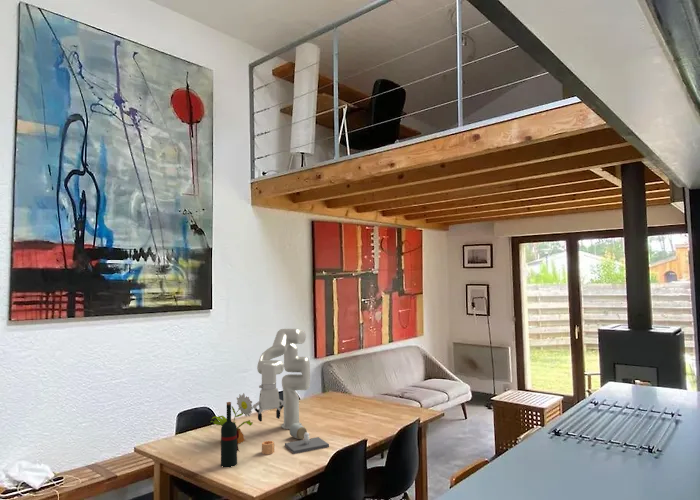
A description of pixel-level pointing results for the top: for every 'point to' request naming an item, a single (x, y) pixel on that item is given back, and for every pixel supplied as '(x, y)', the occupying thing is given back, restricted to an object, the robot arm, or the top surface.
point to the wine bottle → (229, 441)
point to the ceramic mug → (297, 431)
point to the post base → (306, 444)
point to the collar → (268, 447)
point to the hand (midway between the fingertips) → (269, 419)
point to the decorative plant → (245, 408)
